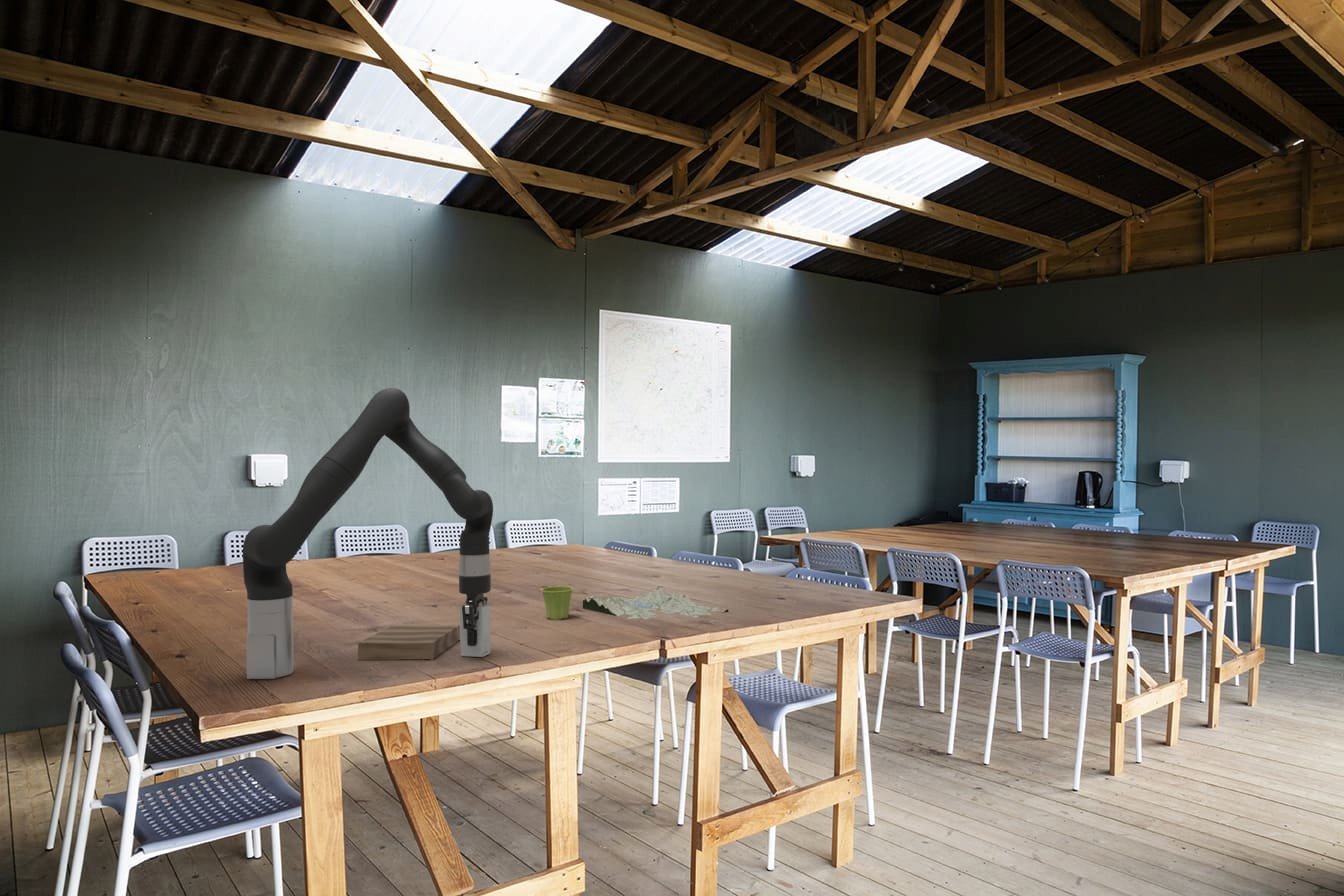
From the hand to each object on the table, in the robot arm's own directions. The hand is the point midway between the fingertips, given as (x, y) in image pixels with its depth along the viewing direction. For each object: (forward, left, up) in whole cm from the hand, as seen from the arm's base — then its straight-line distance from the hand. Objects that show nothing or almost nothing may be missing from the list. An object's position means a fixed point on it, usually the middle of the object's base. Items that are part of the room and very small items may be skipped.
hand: (475, 642), depth 213 cm
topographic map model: (+61, -39, -4) cm, 72 cm away
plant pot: (+48, -11, -3) cm, 49 cm away
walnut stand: (+6, +18, -3) cm, 19 cm away
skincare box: (0, 0, -3) cm, 3 cm away
